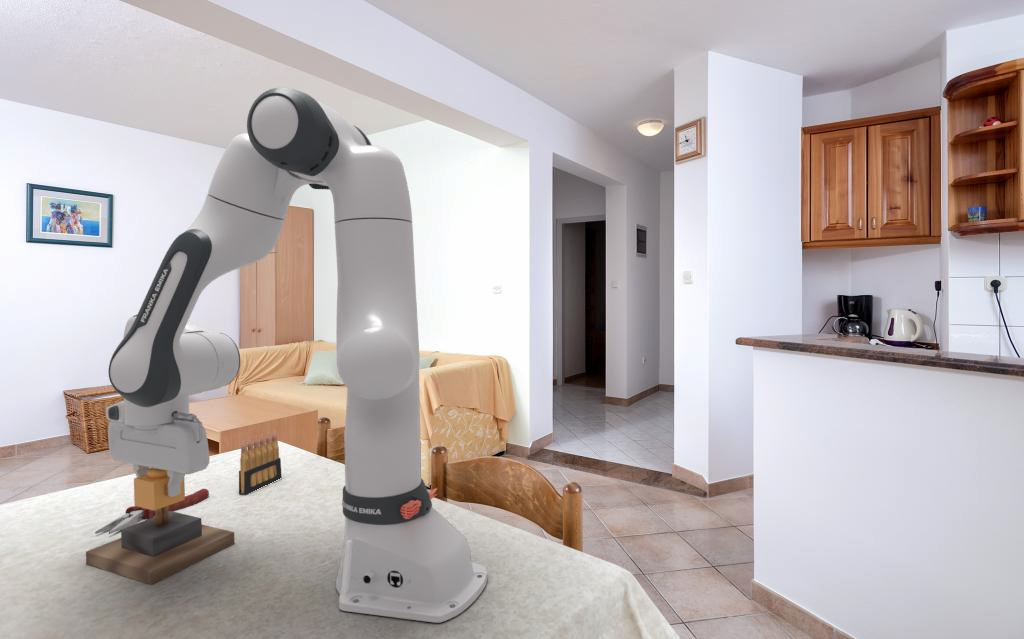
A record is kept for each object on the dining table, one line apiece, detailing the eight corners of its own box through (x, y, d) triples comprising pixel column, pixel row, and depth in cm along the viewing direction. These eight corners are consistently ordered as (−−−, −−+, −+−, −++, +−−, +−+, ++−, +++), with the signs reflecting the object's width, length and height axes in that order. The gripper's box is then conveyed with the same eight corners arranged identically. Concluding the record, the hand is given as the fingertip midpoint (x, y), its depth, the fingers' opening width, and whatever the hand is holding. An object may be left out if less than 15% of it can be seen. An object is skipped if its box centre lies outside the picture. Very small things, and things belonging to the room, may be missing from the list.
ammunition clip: (245, 495, 112) (243, 440, 112) (238, 494, 113) (236, 439, 112) (281, 479, 122) (280, 428, 122) (275, 478, 123) (274, 427, 122)
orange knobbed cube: (184, 499, 87) (184, 466, 87) (154, 510, 83) (153, 475, 83) (165, 495, 89) (164, 462, 89) (134, 505, 85) (133, 471, 85)
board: (234, 543, 90) (232, 489, 89) (150, 584, 77) (148, 521, 77) (173, 528, 96) (171, 477, 96) (86, 563, 83) (83, 505, 83)
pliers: (74, 537, 94) (74, 523, 94) (164, 495, 114) (164, 484, 113) (130, 541, 92) (130, 527, 92) (212, 498, 112) (211, 486, 112)
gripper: (219, 410, 84) (220, 495, 85) (138, 401, 92) (141, 478, 93) (181, 419, 79) (183, 509, 79) (98, 408, 87) (101, 490, 87)
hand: (159, 492), depth 86 cm, fingers closed on orange knobbed cube, 5 cm apart
